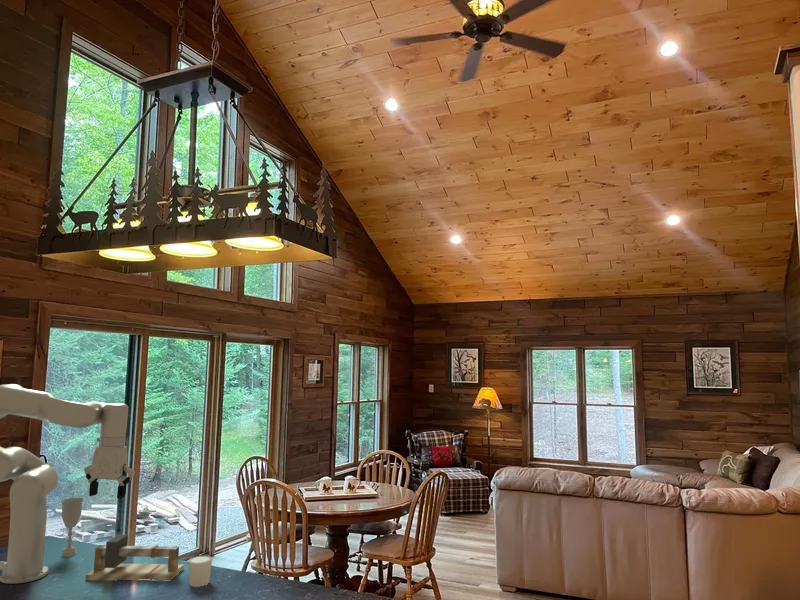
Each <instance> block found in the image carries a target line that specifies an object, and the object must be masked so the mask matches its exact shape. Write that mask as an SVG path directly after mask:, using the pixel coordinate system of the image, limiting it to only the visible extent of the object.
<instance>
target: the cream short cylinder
mask: <svg viewBox="0 0 800 600" xmlns="http://www.w3.org/2000/svg"><path fill="white" fill-rule="evenodd" d="M212 563H213V557H212V556H210V555H199V556H198V555H197V556H193V557H191V558H189V559H188V577H189V581H188V582H189V586H191V587H192V588H201V587H200V586H202V587H205V586H207V585H209V584H208V583H210V581H211V580H210V578H211V572H212V571H211V570H212ZM204 585H205V586H204Z"/></svg>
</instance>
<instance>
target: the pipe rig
mask: <svg viewBox="0 0 800 600" xmlns="http://www.w3.org/2000/svg"><path fill="white" fill-rule="evenodd" d="M179 551H180V546H177V545H176V546H175V545H172V546H163V545H161V546H160V545H154V546H152V545H127V546H120V547H119V555H118V556H127V557H131V558H132V557H133V558H134V557H136V558H137V557H139V558H140V557H142V558H143V557H144V558H145V557H148V558H151V559H155V558H167V559H168V560H167V561H168V562H167V564H166V563H121V564H119V565H118V566H117V567H115V568H105V555H106V544H103V545H102V544H100V545H97V546H96V547H95V549H94V558H93V559H94V560H93V562H94V563H93V570H91V571H90V572H88V573H87V574H85V581H113V580H114V582H115V581H117V580H138V579H151V580H152V579H155V580H172V579H173V578H174V577H175V576H176V575H177V574H178V573H179V572H180V571H181V572H183V570H184V569H185V568H184V567H185V565H184V564H183V563H182V564H179V557H180V552H179ZM181 572H180V573H181ZM180 573H179V574H180ZM179 574H178V575H179ZM178 575H177V576H178ZM177 576H176V577H177ZM176 577H175V578H176ZM175 578H174V579H175ZM174 579H173V580H174ZM173 580H172V581H173Z"/></svg>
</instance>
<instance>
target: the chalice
mask: <svg viewBox="0 0 800 600" xmlns="http://www.w3.org/2000/svg"><path fill="white" fill-rule="evenodd" d="M83 502H84V498H83V497H70V498H65V499H62V500H60V503H61V507H62V508H61V518H62V522H63V523H64V526H65V528H66V529H68V532H67V536H68V537H67V540H66V541H67V546H66V547H64V548H63V549H62V551H61V554H59V556H60V557H61V558H69V557H74V556H77V554H78V552H77V550H76V547H75V546H73V545H72V540H73V539H74V538H72V536H73V534H74V533H73V528H76V527H77V524H78V522H79V520H80V518H81V516H82V505H83Z"/></svg>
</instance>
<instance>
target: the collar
mask: <svg viewBox="0 0 800 600" xmlns="http://www.w3.org/2000/svg"><path fill="white" fill-rule="evenodd" d="M128 536H129V534H117V535H116V536H114V537H112V538H110V539H109V540H107V541H106V542H105V545H106V555H105V568H115V567H117V566H118V565H119V564H123V562H125V561H126V560H127V558H128V556H118V555H119V547H120V546H128V543H129V541H128V540H129V539H128V538H129V537H128Z"/></svg>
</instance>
